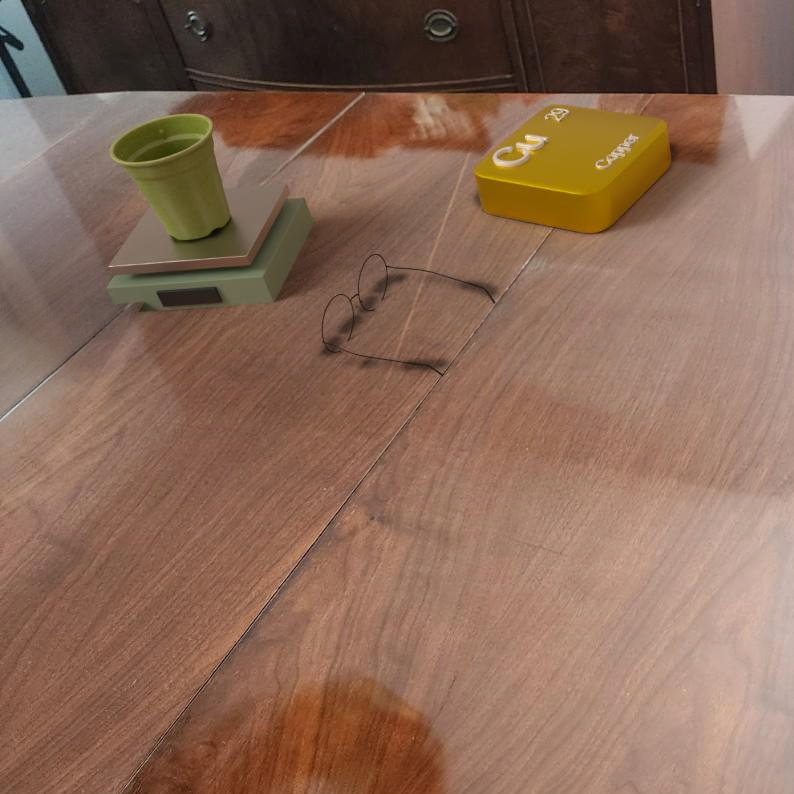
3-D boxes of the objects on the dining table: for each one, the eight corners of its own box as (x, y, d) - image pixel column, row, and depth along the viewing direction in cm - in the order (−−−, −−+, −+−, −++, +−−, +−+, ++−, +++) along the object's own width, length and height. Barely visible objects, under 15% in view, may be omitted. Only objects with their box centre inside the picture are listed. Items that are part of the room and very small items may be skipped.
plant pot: (162, 208, 111) (122, 122, 104) (254, 191, 110) (219, 105, 104) (143, 258, 104) (98, 171, 98) (240, 241, 104) (202, 152, 97)
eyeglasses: (501, 297, 100) (489, 247, 96) (438, 384, 93) (421, 334, 89) (394, 286, 104) (378, 238, 100) (325, 369, 97) (305, 320, 93)
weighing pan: (112, 275, 105) (107, 266, 104) (161, 203, 114) (157, 194, 113) (250, 265, 103) (246, 255, 102) (290, 192, 111) (287, 182, 110)
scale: (118, 316, 108) (99, 281, 105) (171, 236, 117) (154, 201, 114) (273, 305, 105) (258, 269, 102) (314, 224, 114) (301, 188, 111)
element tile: (601, 238, 104) (594, 190, 101) (474, 213, 111) (462, 167, 107) (679, 160, 112) (674, 113, 108) (555, 141, 118) (547, 96, 115)
